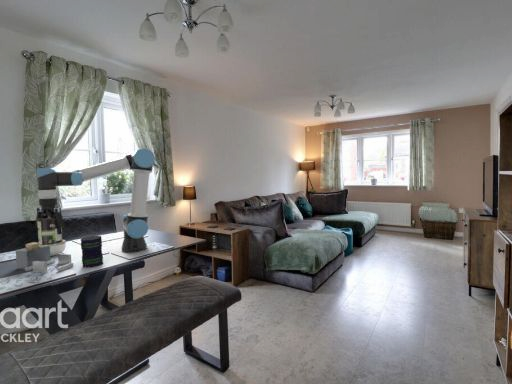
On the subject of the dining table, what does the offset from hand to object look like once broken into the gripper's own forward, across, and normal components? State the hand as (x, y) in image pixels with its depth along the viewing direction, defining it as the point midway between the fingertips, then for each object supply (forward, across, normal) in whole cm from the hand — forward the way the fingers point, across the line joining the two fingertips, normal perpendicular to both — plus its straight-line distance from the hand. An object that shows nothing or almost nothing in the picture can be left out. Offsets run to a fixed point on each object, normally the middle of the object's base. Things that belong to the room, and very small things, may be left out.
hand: (50, 239), depth 143 cm
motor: (+15, +5, 0) cm, 16 cm away
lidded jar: (+15, +24, -20) cm, 35 cm away
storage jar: (+15, -17, -9) cm, 25 cm away
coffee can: (+2, 0, 0) cm, 2 cm away
